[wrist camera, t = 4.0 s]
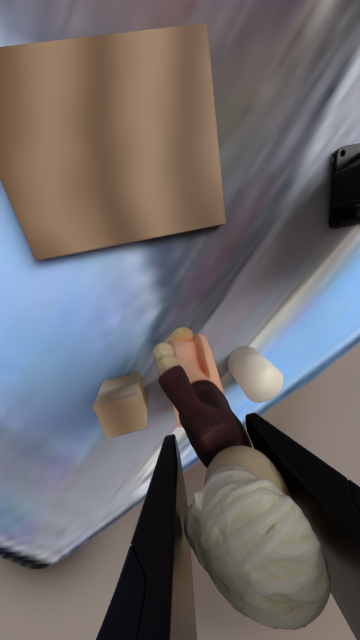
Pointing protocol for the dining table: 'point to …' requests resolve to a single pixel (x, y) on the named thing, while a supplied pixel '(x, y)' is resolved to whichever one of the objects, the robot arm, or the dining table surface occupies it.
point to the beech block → (122, 405)
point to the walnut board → (110, 139)
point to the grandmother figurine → (241, 500)
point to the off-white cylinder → (255, 374)
